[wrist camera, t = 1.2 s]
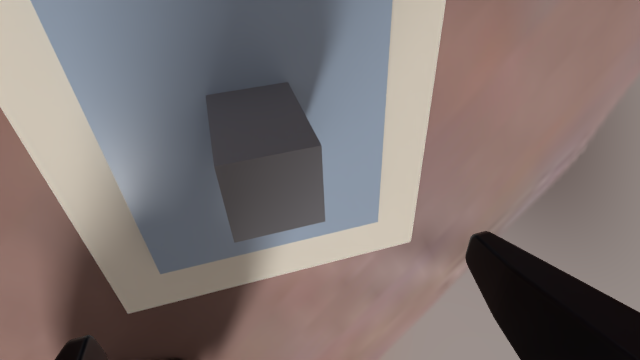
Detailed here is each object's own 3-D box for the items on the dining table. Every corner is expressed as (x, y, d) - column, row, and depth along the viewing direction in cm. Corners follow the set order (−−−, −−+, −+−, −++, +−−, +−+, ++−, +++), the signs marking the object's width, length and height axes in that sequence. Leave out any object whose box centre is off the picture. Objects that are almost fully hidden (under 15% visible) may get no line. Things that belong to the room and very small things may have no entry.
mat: (407, 236, 24) (410, 241, 23) (128, 307, 21) (127, 313, 20) (474, -248, 11) (482, -252, 11) (-207, -248, 8) (-222, -253, 8)
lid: (373, 214, 21) (417, 291, 17) (160, 264, 19) (155, 364, 15) (391, -111, 12) (490, -105, 8) (0, -83, 10) (-111, -59, 6)
